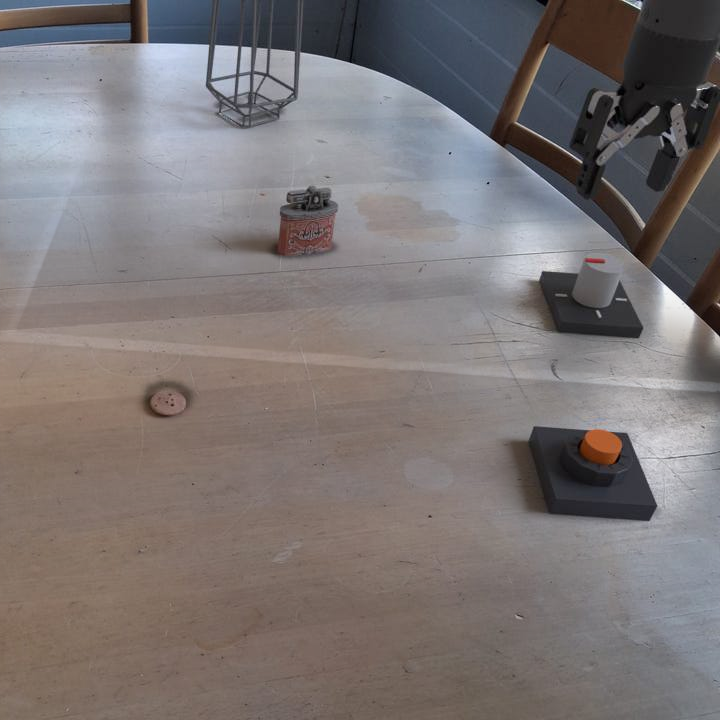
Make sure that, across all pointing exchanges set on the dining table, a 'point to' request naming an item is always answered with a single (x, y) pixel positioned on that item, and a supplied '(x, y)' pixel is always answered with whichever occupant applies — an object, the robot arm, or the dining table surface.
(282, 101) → the geometric lantern
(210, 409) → the dining table surface
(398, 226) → the dining table surface
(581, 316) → the dial panel
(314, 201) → the lighter
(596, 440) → the button
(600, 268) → the timer dial
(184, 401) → the cookie
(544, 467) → the button block
